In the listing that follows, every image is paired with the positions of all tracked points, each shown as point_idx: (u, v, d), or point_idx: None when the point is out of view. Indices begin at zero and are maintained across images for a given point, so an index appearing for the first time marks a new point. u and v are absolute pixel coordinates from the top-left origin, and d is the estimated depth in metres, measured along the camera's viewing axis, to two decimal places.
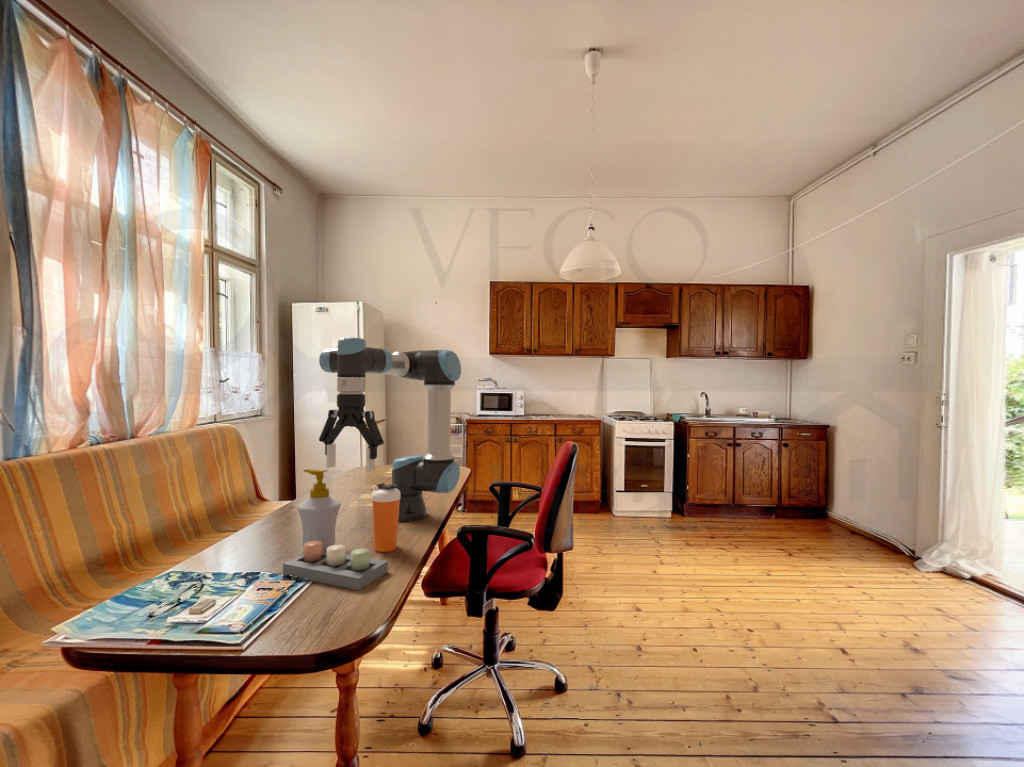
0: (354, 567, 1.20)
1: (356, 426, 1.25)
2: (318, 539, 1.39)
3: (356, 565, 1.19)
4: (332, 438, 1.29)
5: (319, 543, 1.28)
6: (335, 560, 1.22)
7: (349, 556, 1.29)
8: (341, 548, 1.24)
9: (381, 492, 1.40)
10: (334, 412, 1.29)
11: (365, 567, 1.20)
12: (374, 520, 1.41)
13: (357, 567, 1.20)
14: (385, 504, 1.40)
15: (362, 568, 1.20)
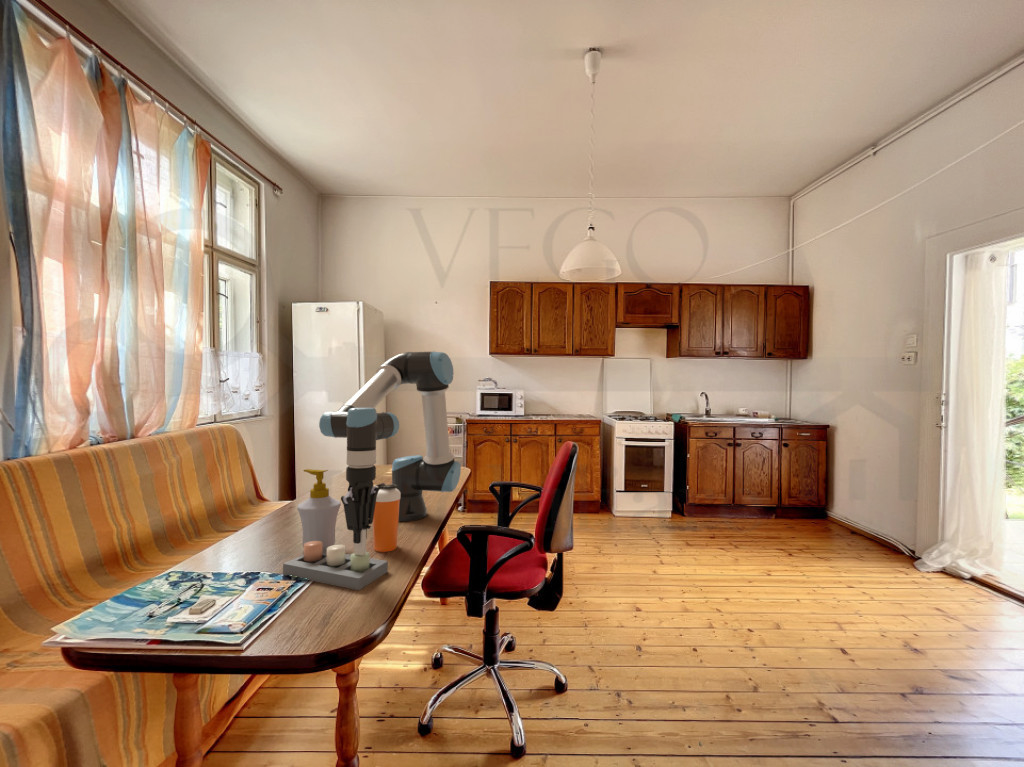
0: (354, 569, 1.20)
1: None
2: (318, 539, 1.39)
3: (356, 568, 1.19)
4: None
5: (319, 543, 1.28)
6: (335, 560, 1.22)
7: (349, 556, 1.29)
8: (341, 548, 1.24)
9: (381, 492, 1.40)
10: None
11: (365, 570, 1.20)
12: (374, 520, 1.41)
13: (357, 570, 1.20)
14: (385, 504, 1.40)
15: (362, 571, 1.20)
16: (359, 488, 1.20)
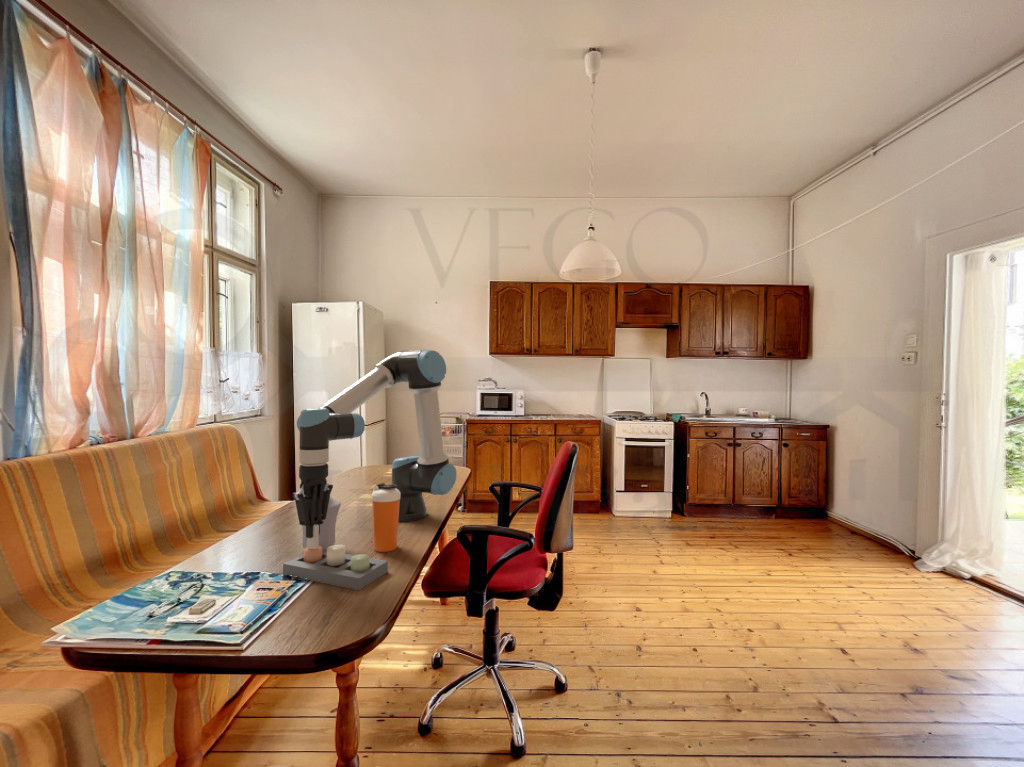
0: None
1: None
2: None
3: (356, 571, 1.19)
4: None
5: (319, 548, 1.28)
6: (335, 560, 1.22)
7: (349, 556, 1.29)
8: (341, 548, 1.24)
9: (381, 492, 1.40)
10: None
11: None
12: (374, 520, 1.41)
13: None
14: (385, 504, 1.40)
15: None
16: (311, 485, 1.25)
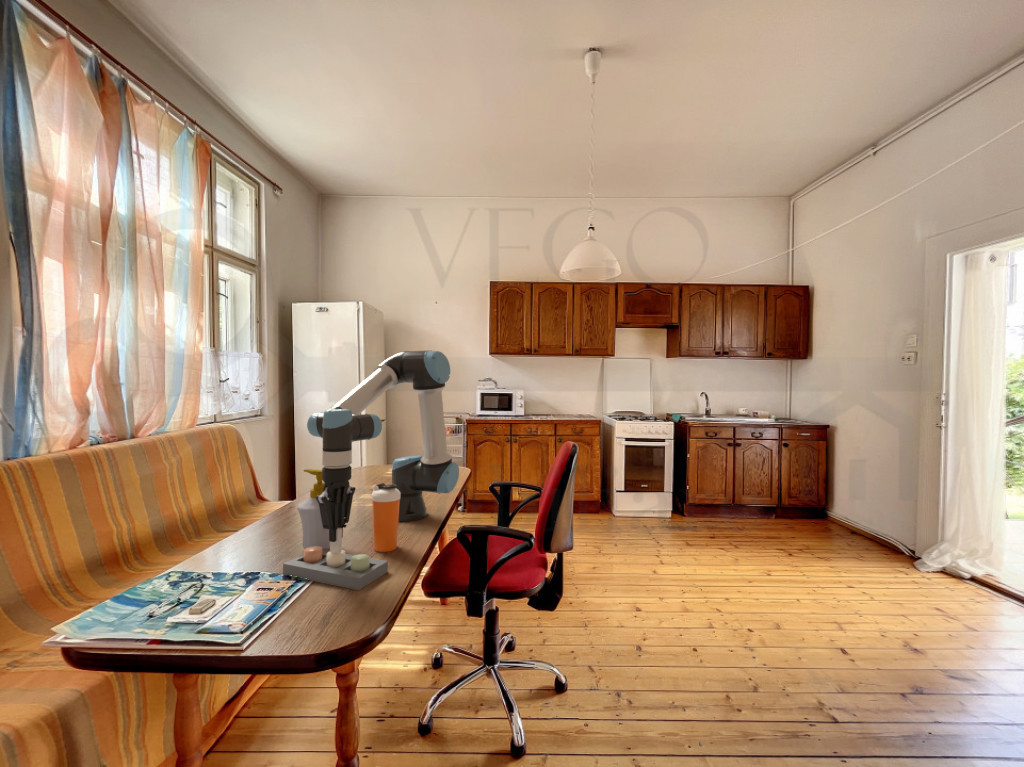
0: None
1: None
2: (318, 539, 1.39)
3: (356, 571, 1.19)
4: None
5: (319, 548, 1.28)
6: (335, 566, 1.22)
7: (349, 556, 1.29)
8: (341, 553, 1.24)
9: (381, 492, 1.40)
10: None
11: None
12: (374, 520, 1.41)
13: None
14: (385, 504, 1.40)
15: None
16: (334, 488, 1.22)
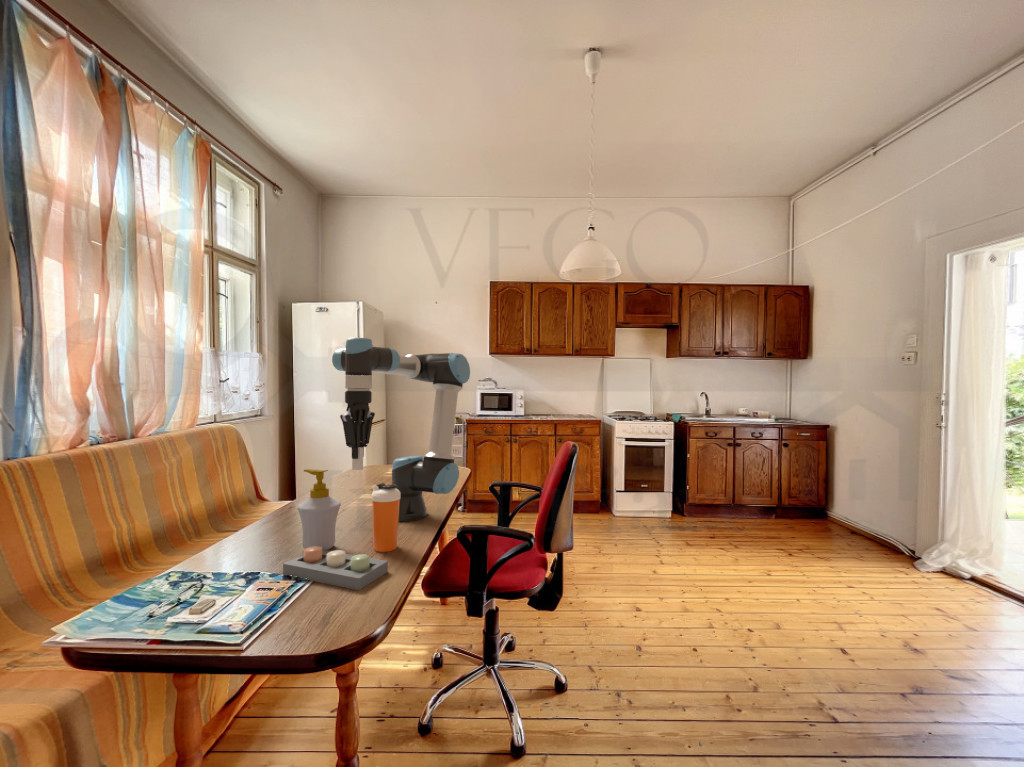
0: None
1: None
2: (318, 539, 1.39)
3: (356, 571, 1.19)
4: None
5: (319, 548, 1.28)
6: (335, 566, 1.22)
7: (349, 556, 1.29)
8: (341, 554, 1.24)
9: (381, 492, 1.40)
10: None
11: None
12: (374, 520, 1.41)
13: None
14: (385, 504, 1.40)
15: None
16: (356, 409, 1.33)
